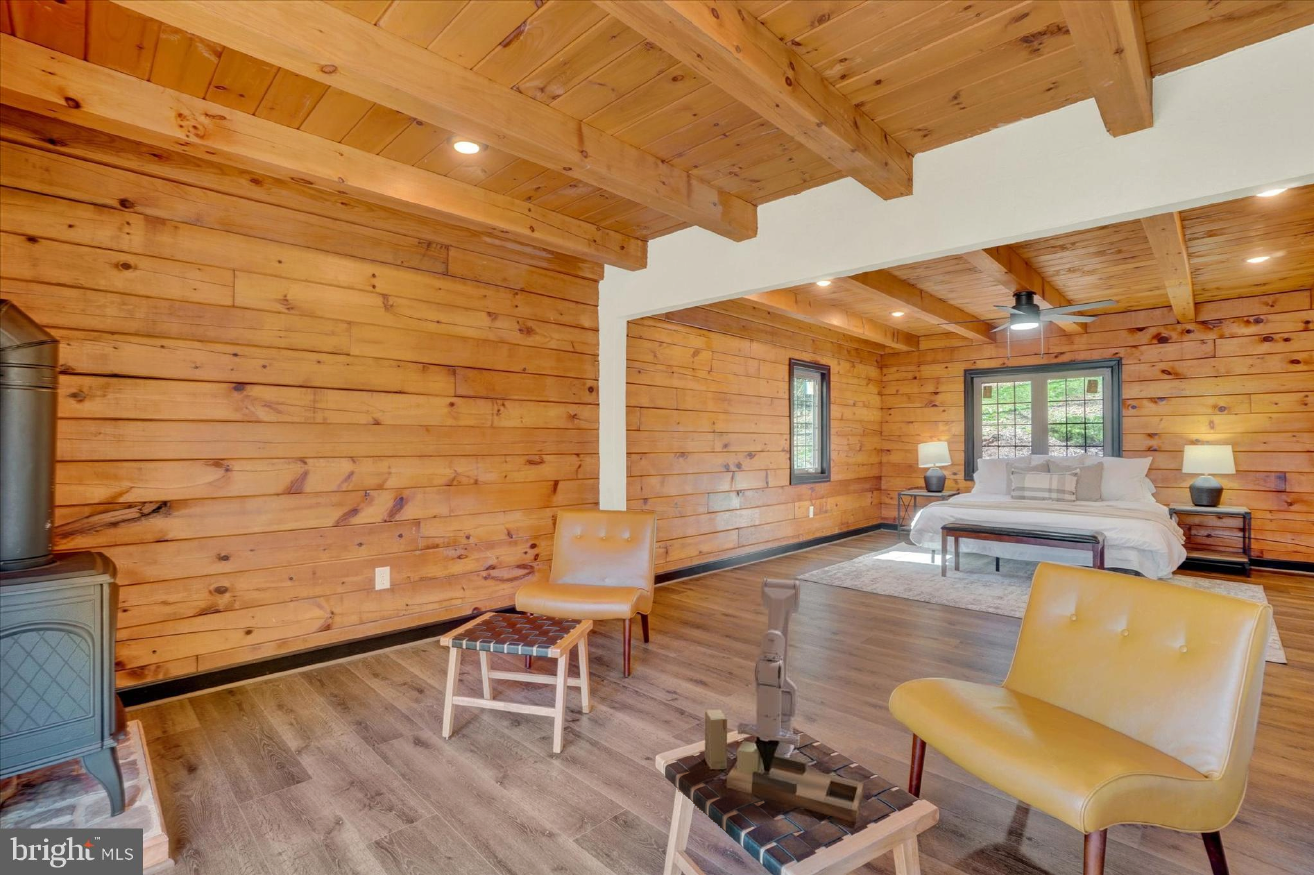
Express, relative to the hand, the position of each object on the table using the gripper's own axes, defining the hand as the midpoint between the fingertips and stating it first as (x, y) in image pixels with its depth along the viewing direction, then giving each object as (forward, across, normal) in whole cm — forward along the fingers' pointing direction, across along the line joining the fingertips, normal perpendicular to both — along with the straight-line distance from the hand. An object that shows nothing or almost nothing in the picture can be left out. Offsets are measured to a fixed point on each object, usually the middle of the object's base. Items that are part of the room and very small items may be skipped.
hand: (767, 769), depth 144 cm
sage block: (+1, -4, 0) cm, 4 cm away
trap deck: (+3, +6, 0) cm, 7 cm away
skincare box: (+3, -14, +3) cm, 15 cm away
